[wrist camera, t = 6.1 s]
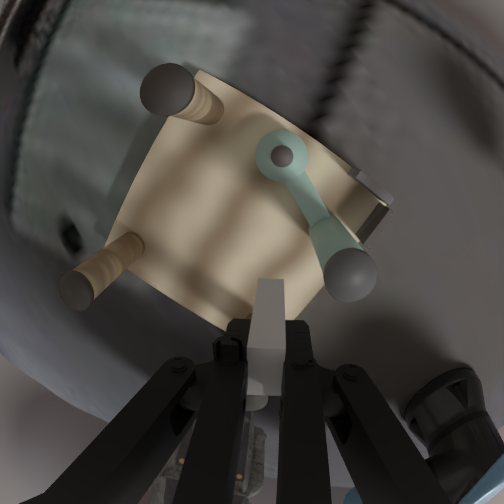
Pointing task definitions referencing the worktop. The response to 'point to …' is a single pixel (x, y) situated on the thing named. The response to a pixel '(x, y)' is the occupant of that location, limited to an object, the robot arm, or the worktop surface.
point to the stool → (222, 208)
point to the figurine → (247, 470)
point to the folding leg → (320, 222)
